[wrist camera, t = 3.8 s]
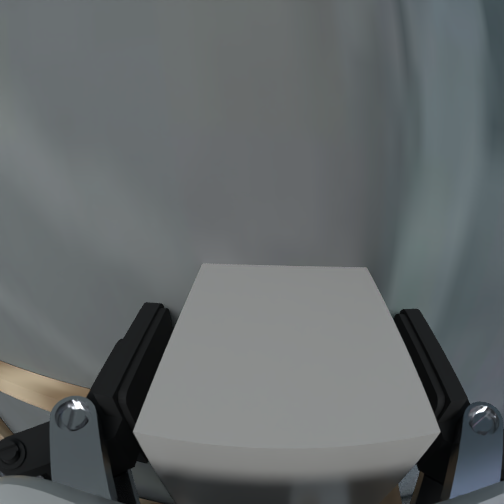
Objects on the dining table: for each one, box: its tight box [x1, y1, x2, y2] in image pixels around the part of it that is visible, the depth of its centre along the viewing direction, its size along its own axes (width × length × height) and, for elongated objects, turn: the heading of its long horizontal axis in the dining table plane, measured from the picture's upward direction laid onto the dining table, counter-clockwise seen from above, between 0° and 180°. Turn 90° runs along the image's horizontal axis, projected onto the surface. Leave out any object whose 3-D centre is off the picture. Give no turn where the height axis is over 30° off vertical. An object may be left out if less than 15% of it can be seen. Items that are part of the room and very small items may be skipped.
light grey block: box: [133, 263, 441, 504], centre depth 8 cm, size 5×5×6 cm
